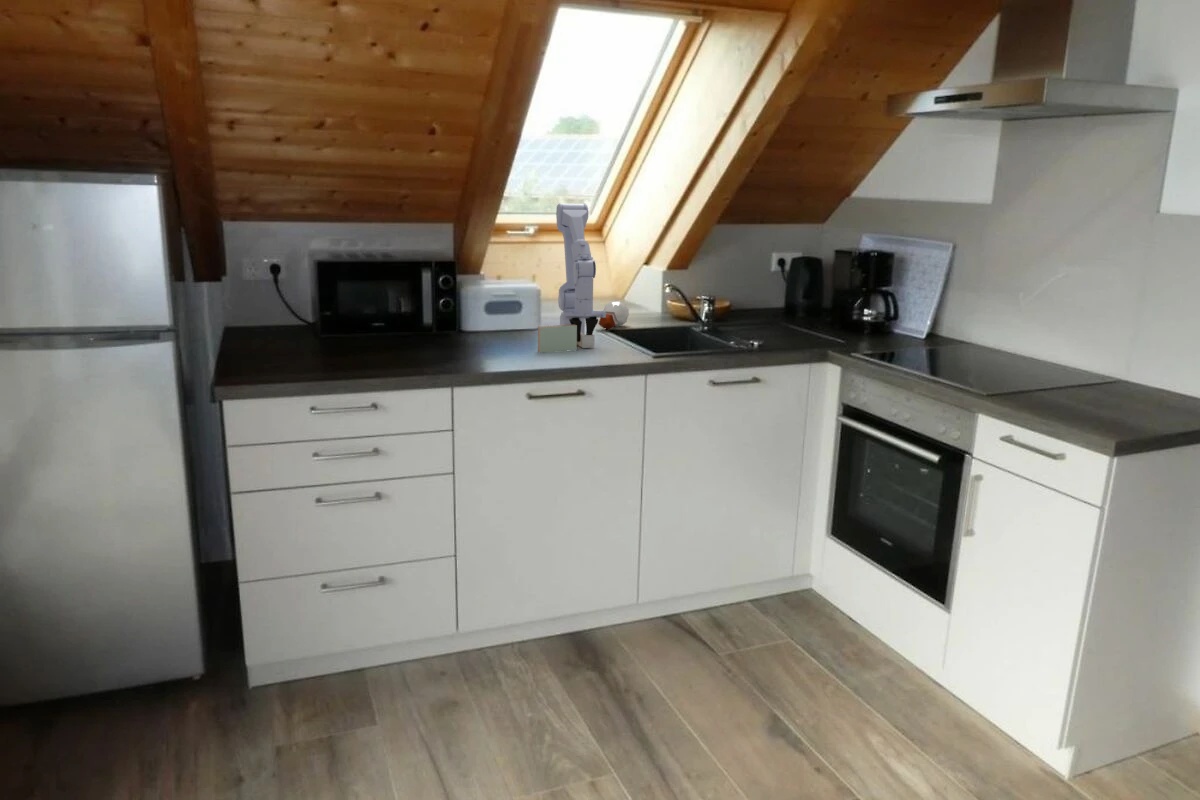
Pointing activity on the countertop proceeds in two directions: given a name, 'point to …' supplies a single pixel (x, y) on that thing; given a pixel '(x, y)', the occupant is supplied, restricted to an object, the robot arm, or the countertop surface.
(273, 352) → the countertop surface
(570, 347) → the tile
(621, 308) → the potion bottle
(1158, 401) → the countertop surface
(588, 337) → the capped square post
